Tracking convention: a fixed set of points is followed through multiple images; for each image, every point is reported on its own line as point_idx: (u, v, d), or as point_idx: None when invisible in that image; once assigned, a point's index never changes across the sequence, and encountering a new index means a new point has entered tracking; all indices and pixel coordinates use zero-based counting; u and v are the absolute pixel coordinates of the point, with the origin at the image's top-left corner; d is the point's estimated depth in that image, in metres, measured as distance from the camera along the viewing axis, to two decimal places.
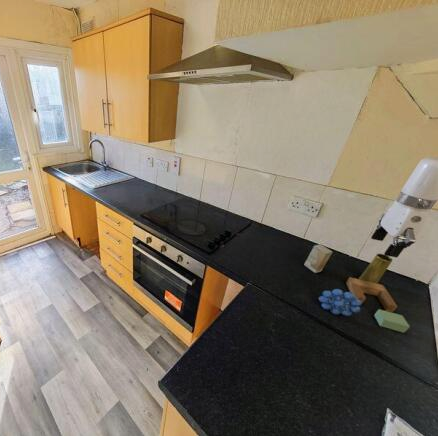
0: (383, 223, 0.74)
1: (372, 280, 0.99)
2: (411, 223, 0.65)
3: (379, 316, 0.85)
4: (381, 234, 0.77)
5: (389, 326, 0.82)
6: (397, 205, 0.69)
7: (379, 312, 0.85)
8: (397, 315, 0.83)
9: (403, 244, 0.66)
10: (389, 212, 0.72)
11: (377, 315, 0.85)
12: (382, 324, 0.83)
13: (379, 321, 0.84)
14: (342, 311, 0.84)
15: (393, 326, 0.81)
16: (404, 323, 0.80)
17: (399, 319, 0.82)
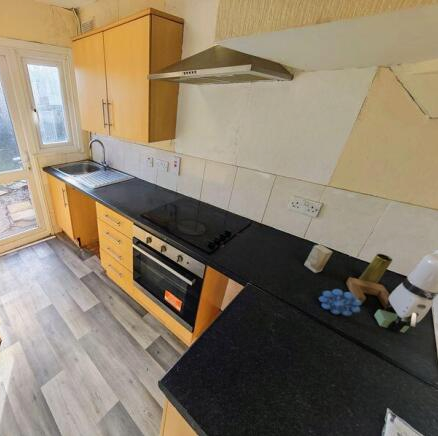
0: (391, 300, 0.82)
1: (372, 280, 0.99)
2: (416, 309, 0.74)
3: (379, 316, 0.85)
4: None
5: None
6: (404, 289, 0.78)
7: (379, 312, 0.85)
8: (397, 315, 0.83)
9: (404, 324, 0.77)
10: (396, 292, 0.81)
11: (377, 315, 0.85)
12: (382, 324, 0.83)
13: (379, 321, 0.84)
14: (342, 311, 0.84)
15: None
16: None
17: None
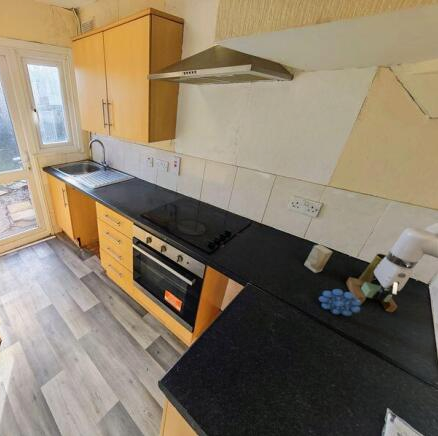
0: (376, 273, 0.90)
1: None
2: (397, 278, 0.81)
3: (365, 288, 0.92)
4: None
5: None
6: (387, 261, 0.85)
7: (365, 284, 0.92)
8: None
9: (386, 293, 0.84)
10: (381, 265, 0.88)
11: (363, 287, 0.93)
12: (367, 295, 0.90)
13: (365, 292, 0.91)
14: (342, 311, 0.84)
15: None
16: None
17: None
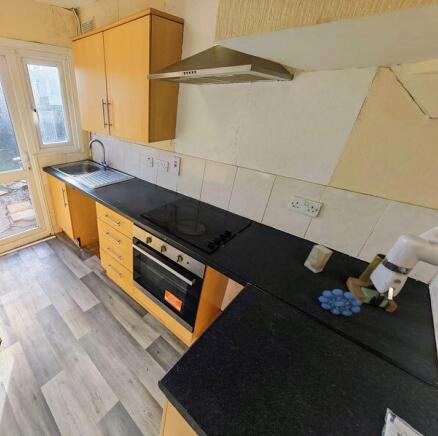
0: (372, 278, 0.91)
1: None
2: (393, 284, 0.83)
3: None
4: None
5: None
6: (383, 267, 0.86)
7: (362, 289, 0.94)
8: None
9: (382, 298, 0.86)
10: (377, 270, 0.90)
11: None
12: (364, 300, 0.92)
13: None
14: (342, 311, 0.84)
15: None
16: None
17: None
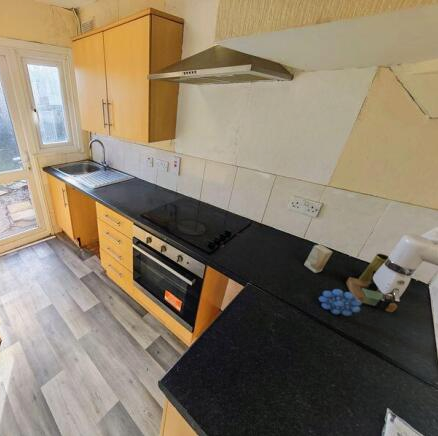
0: (375, 279, 0.90)
1: None
2: (397, 285, 0.81)
3: None
4: (373, 288, 0.93)
5: (370, 302, 0.91)
6: (386, 268, 0.85)
7: (362, 290, 0.94)
8: (378, 293, 0.92)
9: (390, 301, 0.83)
10: (379, 271, 0.88)
11: None
12: (364, 301, 0.92)
13: None
14: (342, 311, 0.84)
15: (374, 302, 0.91)
16: None
17: (379, 296, 0.91)
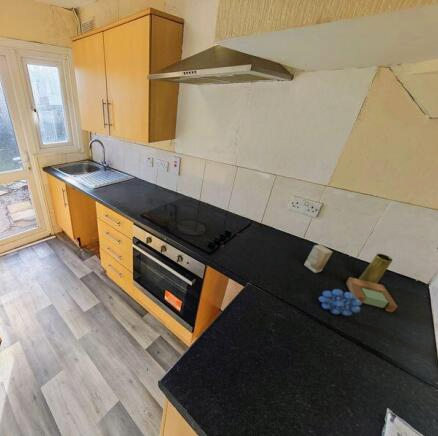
0: None
1: (372, 280, 0.99)
2: None
3: None
4: None
5: (370, 302, 0.91)
6: None
7: (362, 290, 0.94)
8: (378, 293, 0.92)
9: None
10: None
11: None
12: (364, 301, 0.92)
13: None
14: (342, 311, 0.84)
15: (374, 302, 0.91)
16: (383, 299, 0.90)
17: (379, 296, 0.91)
